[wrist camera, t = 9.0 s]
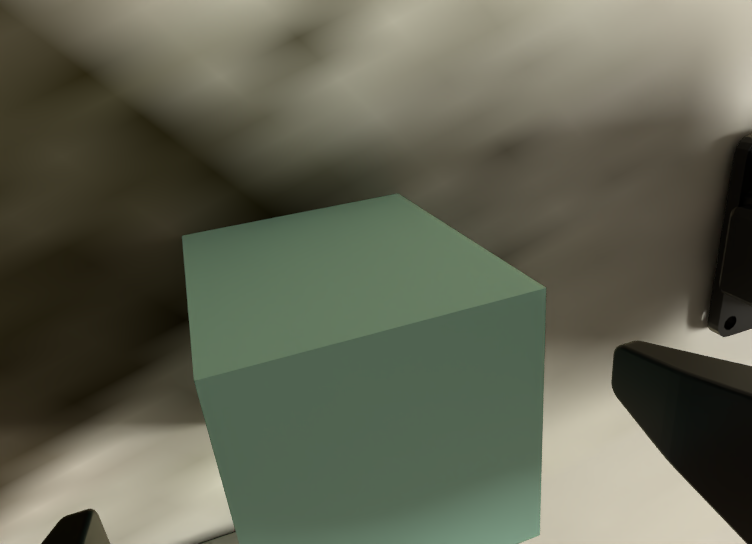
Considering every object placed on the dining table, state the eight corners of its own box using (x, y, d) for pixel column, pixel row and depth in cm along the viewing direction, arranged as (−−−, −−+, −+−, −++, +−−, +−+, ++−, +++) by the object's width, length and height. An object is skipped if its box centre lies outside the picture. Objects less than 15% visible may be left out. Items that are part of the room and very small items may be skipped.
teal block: (397, 193, 13) (545, 287, 8) (412, 368, 15) (539, 535, 10) (182, 234, 12) (193, 381, 7) (229, 420, 14) (267, 643, 9)
